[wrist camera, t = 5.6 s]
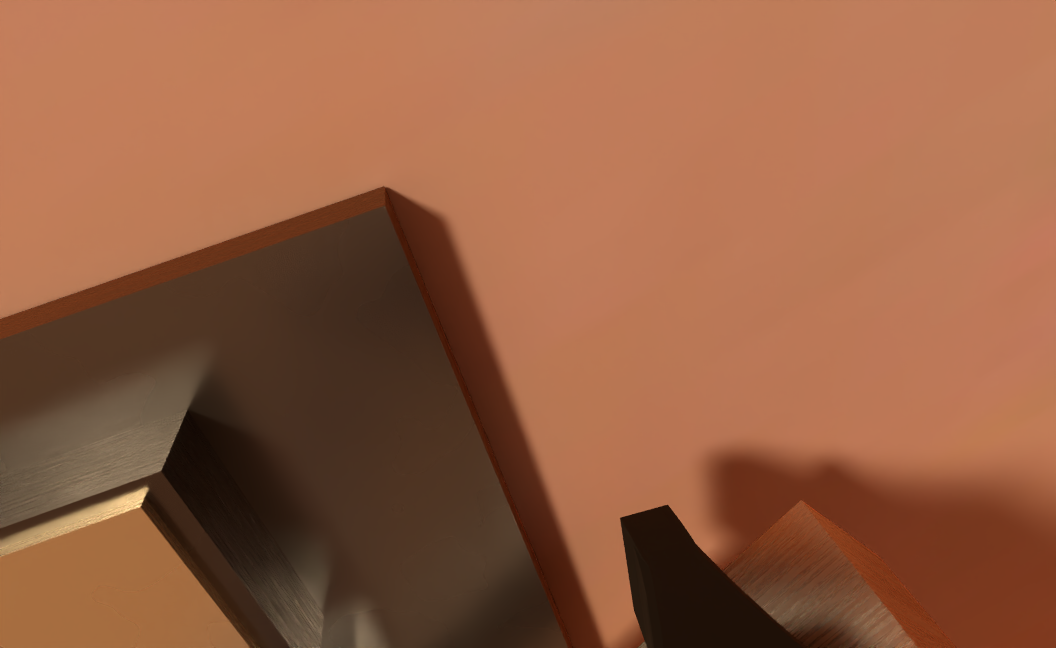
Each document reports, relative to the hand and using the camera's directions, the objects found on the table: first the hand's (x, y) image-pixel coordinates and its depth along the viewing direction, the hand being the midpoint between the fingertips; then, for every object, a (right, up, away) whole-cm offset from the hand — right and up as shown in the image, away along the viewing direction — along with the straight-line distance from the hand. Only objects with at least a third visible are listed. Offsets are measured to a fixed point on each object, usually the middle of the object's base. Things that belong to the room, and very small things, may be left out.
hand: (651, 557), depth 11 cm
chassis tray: (-8, -4, +4) cm, 10 cm away
